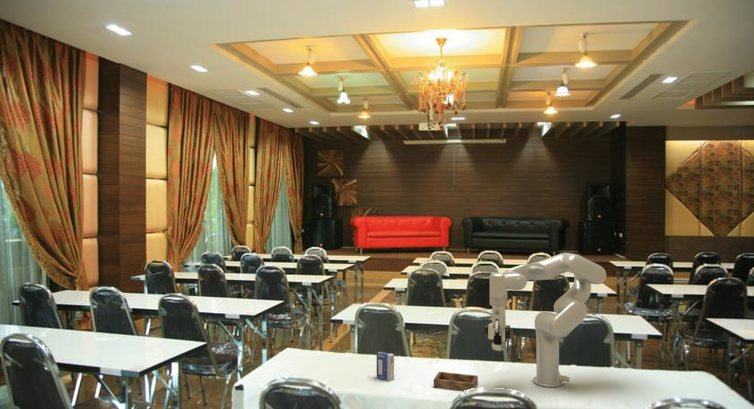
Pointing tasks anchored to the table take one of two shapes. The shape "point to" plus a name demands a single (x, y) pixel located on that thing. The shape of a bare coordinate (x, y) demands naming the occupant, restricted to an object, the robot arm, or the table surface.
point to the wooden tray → (455, 381)
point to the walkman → (385, 366)
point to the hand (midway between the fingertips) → (498, 342)
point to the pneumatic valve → (505, 335)
